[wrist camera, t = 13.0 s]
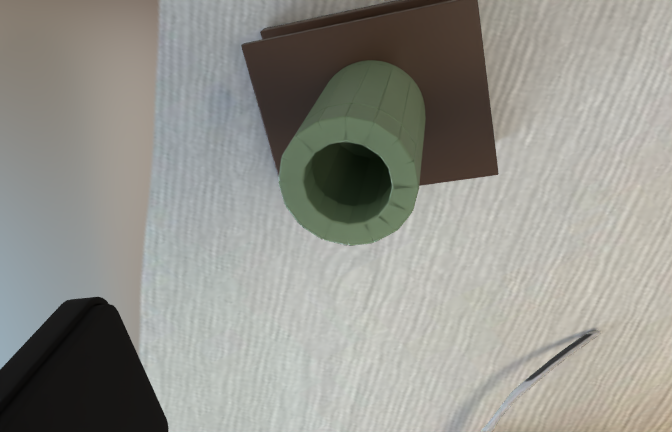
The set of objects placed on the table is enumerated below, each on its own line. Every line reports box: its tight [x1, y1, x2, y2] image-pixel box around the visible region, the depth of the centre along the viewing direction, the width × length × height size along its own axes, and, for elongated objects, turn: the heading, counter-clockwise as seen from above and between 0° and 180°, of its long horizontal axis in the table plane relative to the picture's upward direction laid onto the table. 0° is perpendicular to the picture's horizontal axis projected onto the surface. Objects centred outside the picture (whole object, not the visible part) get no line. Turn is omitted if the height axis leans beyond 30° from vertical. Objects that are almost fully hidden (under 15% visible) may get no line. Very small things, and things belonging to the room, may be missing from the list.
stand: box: [242, 0, 498, 186], centre depth 30 cm, size 8×10×4 cm
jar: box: [279, 60, 426, 246], centre depth 25 cm, size 5×5×8 cm
